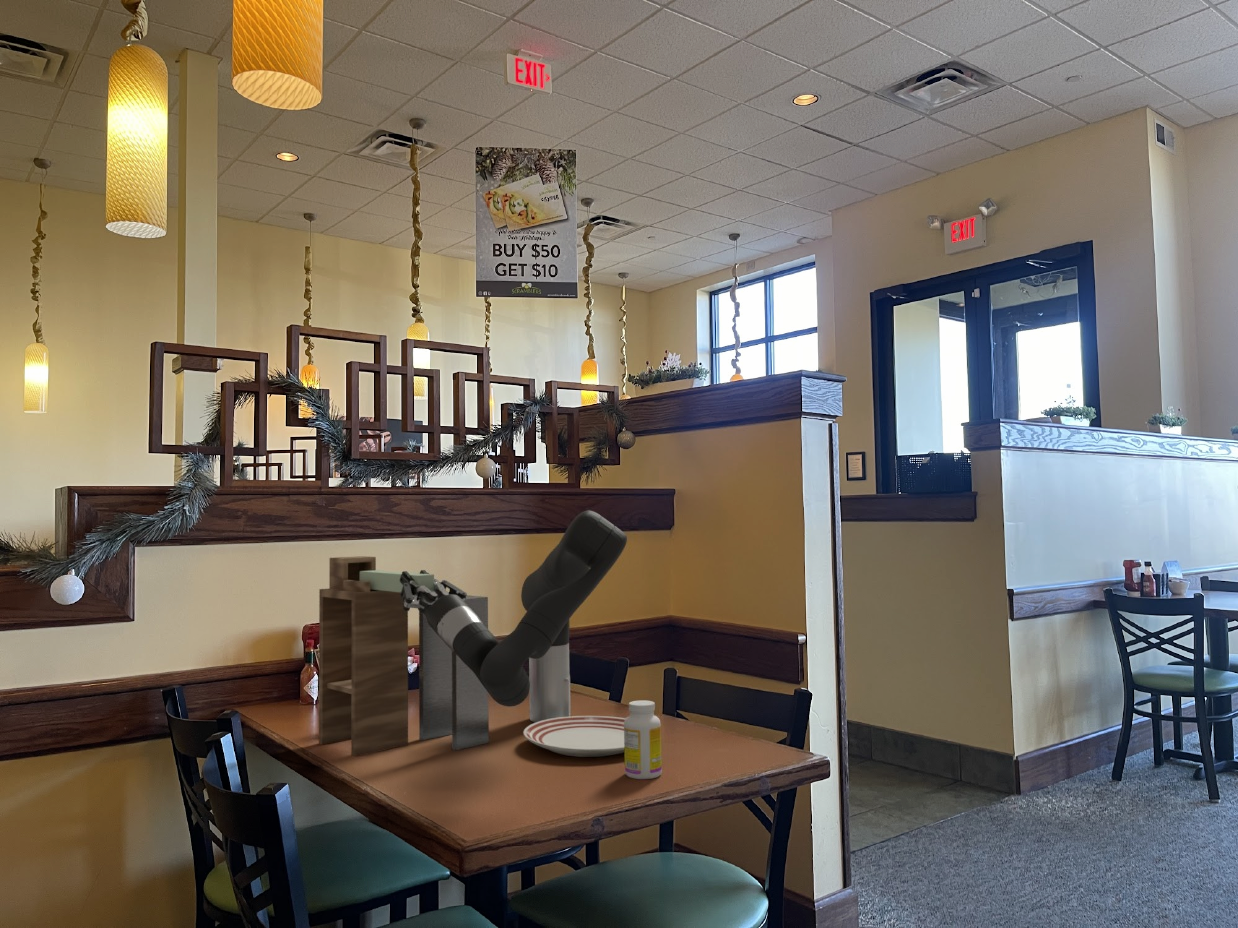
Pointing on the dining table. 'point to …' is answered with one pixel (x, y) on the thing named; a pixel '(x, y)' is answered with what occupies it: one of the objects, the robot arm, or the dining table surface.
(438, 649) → the side stand
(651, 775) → the supplement bottle
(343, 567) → the tunnel stand
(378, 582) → the bar
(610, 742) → the dinner plate
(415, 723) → the dining table surface
